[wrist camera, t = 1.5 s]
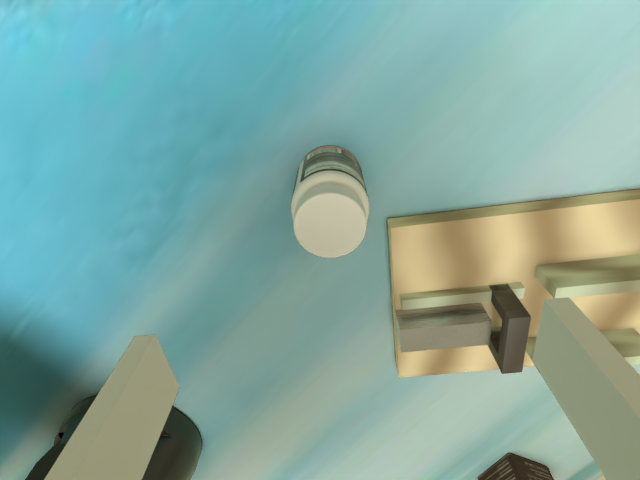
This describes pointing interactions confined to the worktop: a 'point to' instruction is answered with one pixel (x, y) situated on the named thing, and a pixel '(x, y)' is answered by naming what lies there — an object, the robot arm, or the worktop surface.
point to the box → (516, 470)
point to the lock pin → (443, 327)
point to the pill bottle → (329, 203)
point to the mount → (520, 274)
